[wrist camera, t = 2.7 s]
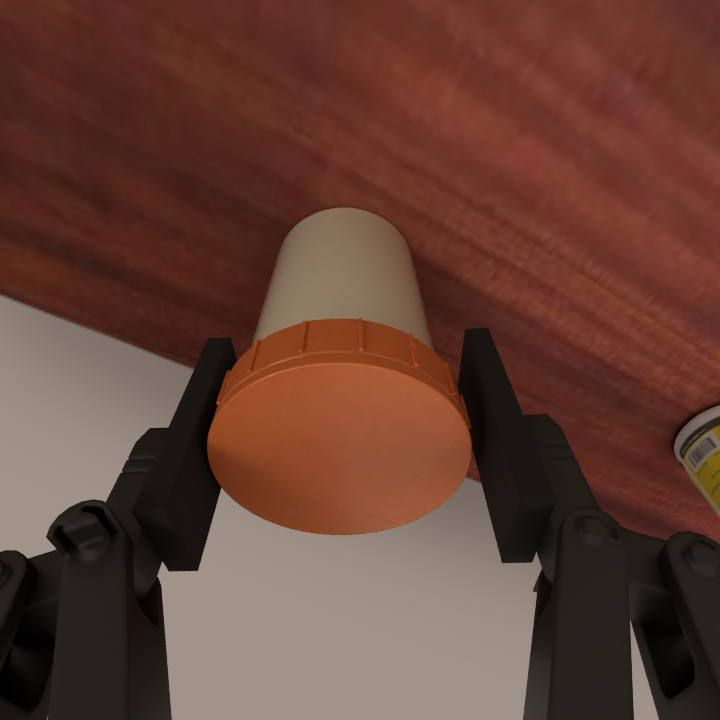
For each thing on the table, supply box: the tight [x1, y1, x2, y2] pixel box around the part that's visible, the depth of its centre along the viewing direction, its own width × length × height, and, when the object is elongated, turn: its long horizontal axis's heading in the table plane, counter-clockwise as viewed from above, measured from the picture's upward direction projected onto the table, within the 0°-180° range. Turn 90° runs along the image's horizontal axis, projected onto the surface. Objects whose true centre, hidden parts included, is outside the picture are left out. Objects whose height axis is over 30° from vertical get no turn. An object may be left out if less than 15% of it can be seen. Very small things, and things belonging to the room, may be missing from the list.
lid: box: [207, 318, 472, 535], centre depth 13 cm, size 7×7×2 cm
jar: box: [251, 207, 435, 352], centre depth 17 cm, size 6×6×11 cm
